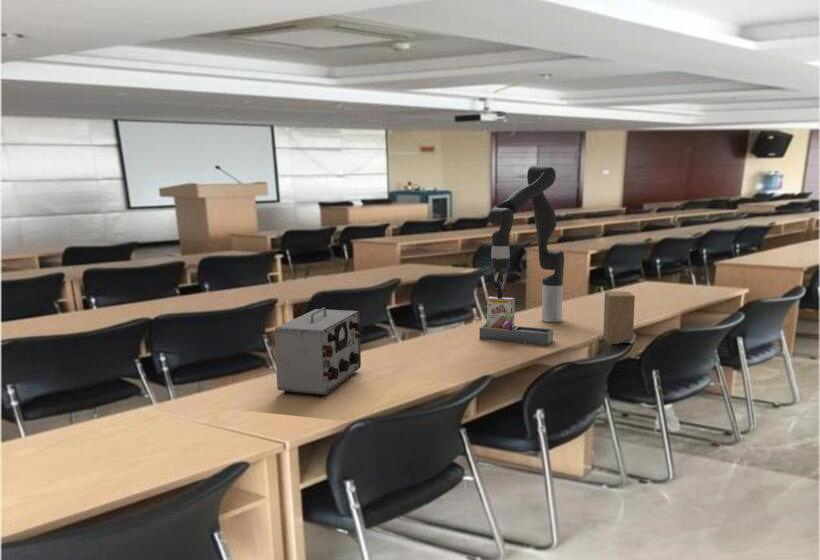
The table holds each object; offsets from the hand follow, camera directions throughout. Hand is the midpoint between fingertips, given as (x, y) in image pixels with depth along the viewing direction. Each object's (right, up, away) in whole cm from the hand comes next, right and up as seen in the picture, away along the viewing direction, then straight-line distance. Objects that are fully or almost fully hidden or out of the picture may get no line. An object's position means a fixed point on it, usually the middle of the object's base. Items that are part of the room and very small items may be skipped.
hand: (500, 297), depth 278 cm
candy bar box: (0, -17, +3) cm, 17 cm away
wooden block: (+48, -18, -4) cm, 51 cm away
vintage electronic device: (-67, -27, -53) cm, 90 cm away
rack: (+7, -18, 0) cm, 19 cm away
